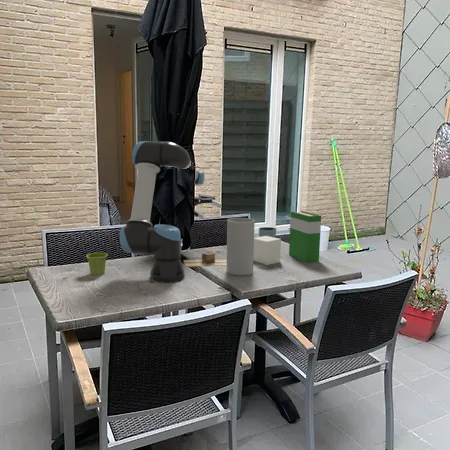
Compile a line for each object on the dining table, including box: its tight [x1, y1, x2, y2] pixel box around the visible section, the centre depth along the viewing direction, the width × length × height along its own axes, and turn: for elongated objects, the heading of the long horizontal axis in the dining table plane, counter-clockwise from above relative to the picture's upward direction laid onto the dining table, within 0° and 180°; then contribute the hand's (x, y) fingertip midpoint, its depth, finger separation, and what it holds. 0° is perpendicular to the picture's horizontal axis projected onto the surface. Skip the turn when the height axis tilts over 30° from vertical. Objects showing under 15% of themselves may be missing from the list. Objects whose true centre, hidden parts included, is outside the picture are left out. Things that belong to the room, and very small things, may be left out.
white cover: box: [253, 236, 282, 266], centre depth 232 cm, size 10×10×12 cm
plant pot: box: [85, 252, 108, 276], centre depth 206 cm, size 9×9×9 cm
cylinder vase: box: [226, 217, 256, 277], centre depth 210 cm, size 12×12×25 cm
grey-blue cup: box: [258, 226, 277, 238], centre depth 261 cm, size 10×10×12 cm
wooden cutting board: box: [182, 258, 227, 268], centre depth 227 cm, size 13×24×1 cm, turn 101°
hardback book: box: [288, 210, 322, 263], centre depth 240 cm, size 18×7×24 cm, turn 23°
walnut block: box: [201, 251, 216, 264], centre depth 227 cm, size 5×5×5 cm
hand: (212, 211), depth 240 cm, fingers open, 13 cm apart
